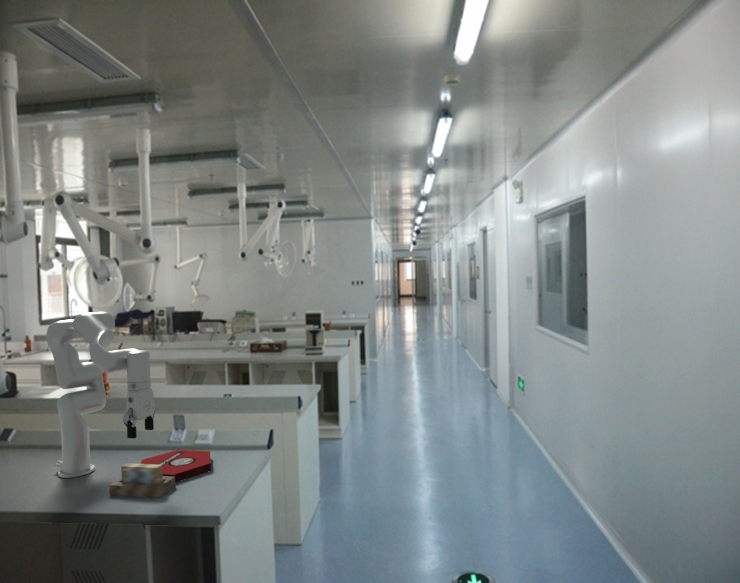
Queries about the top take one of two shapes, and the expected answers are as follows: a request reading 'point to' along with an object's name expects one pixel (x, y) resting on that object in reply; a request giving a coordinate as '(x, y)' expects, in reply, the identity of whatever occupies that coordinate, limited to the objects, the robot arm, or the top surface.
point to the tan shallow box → (142, 488)
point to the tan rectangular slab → (142, 473)
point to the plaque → (182, 463)
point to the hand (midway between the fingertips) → (140, 433)
